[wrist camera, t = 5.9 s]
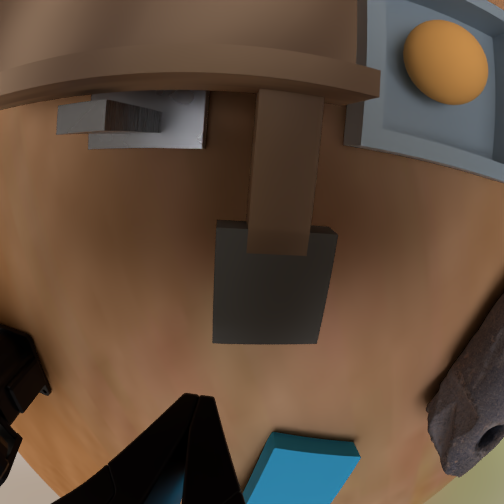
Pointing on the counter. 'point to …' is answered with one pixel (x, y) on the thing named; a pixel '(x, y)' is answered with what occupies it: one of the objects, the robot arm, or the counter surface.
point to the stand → (139, 119)
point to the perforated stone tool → (471, 399)
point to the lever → (218, 79)
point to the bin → (417, 103)
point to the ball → (445, 62)
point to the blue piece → (300, 470)
